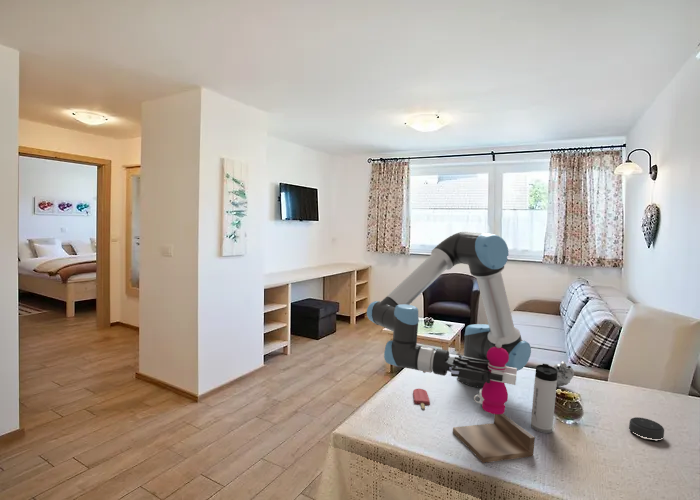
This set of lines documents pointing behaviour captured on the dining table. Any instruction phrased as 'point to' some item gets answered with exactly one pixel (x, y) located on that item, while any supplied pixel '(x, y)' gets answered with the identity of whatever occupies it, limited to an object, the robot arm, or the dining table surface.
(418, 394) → the popsicle
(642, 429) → the smart speaker
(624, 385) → the dining table surface
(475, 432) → the spice board
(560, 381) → the grey rounded lump
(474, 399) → the teacup
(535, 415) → the travel mug
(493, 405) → the pepper mill
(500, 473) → the dining table surface
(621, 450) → the dining table surface
